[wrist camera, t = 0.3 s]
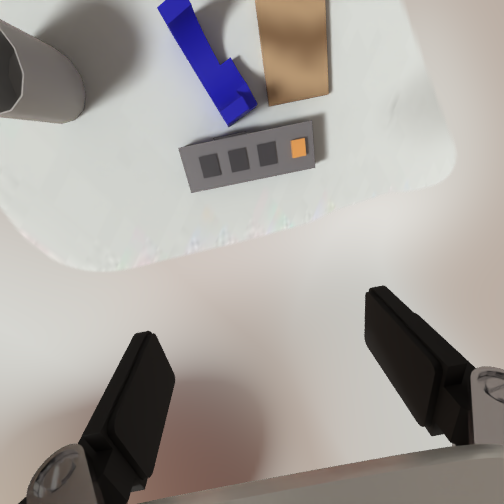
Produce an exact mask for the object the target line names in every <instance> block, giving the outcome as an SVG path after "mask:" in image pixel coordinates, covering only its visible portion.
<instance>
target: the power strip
mask: <svg viewBox="0 0 504 504" xmlns="http://www.w3.org/2000/svg"><path fill="white" fill-rule="evenodd" d="M213 139H214V141H210V142H205V143H200V144H195V145H191V146H186V147H181V148H178V149H179V152H180V156H181V159H182V162H183V166H184V169H185V173H186V176H187V179H188V183H189V186H190V190H191V193H194V192H199V191H204V190H208V189H213V188H218V187H223V186H228V185H233V184H238V183H243V182H247V181H252V180H257V179H262V178H267V177H272V176H277V175H282V174H286V173H291V172H296V171H301V170H306V169H311V168H315V157H314V143H313V128H312V120H311V121H306V122H301V123H296V124H292V125H287V126H282V127H277V128H272V129H268V130H263V131H258V132H253V133H248V134H246V132H241V133H236V134H231V135H227V136H222V137H217V138H213Z"/></svg>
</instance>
